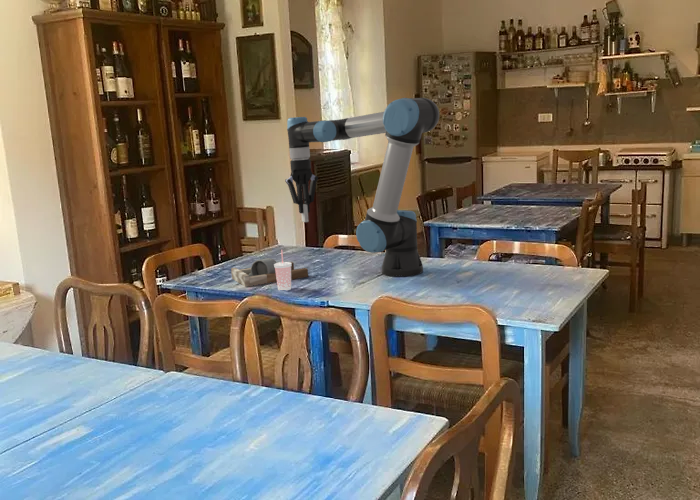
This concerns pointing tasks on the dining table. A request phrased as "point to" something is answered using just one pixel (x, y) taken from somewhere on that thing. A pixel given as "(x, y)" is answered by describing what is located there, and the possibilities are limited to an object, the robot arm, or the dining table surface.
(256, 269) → the ceramic mug
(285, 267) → the beverage cup
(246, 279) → the guide channel
